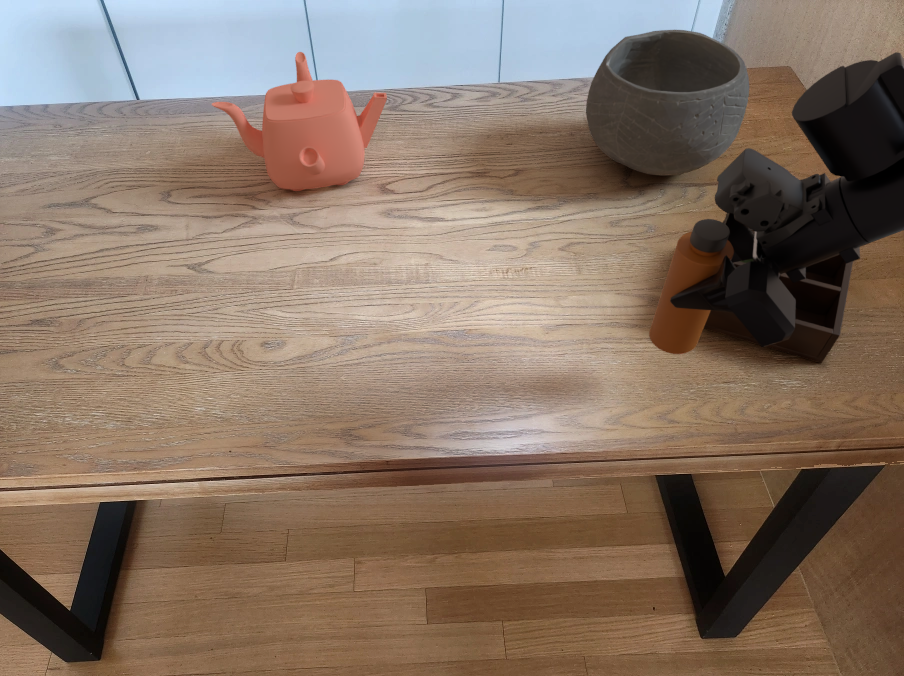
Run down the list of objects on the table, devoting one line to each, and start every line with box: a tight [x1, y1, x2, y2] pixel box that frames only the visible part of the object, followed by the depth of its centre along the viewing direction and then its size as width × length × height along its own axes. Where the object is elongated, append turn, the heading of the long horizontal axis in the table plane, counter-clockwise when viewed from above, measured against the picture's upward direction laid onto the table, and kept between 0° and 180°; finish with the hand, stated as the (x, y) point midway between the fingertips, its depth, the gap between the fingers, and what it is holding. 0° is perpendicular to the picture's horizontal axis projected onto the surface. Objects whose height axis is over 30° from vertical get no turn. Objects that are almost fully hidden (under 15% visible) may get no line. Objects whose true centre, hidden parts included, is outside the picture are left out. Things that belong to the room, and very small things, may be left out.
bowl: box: [585, 29, 750, 176], centre depth 94 cm, size 21×21×15 cm
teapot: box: [211, 51, 388, 192], centre depth 98 cm, size 18×18×14 cm
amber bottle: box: [648, 218, 734, 355], centre depth 63 cm, size 5×5×14 cm
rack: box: [703, 255, 854, 364], centre depth 78 cm, size 15×15×5 cm
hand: (675, 284), depth 64 cm, fingers closed on amber bottle, 5 cm apart
